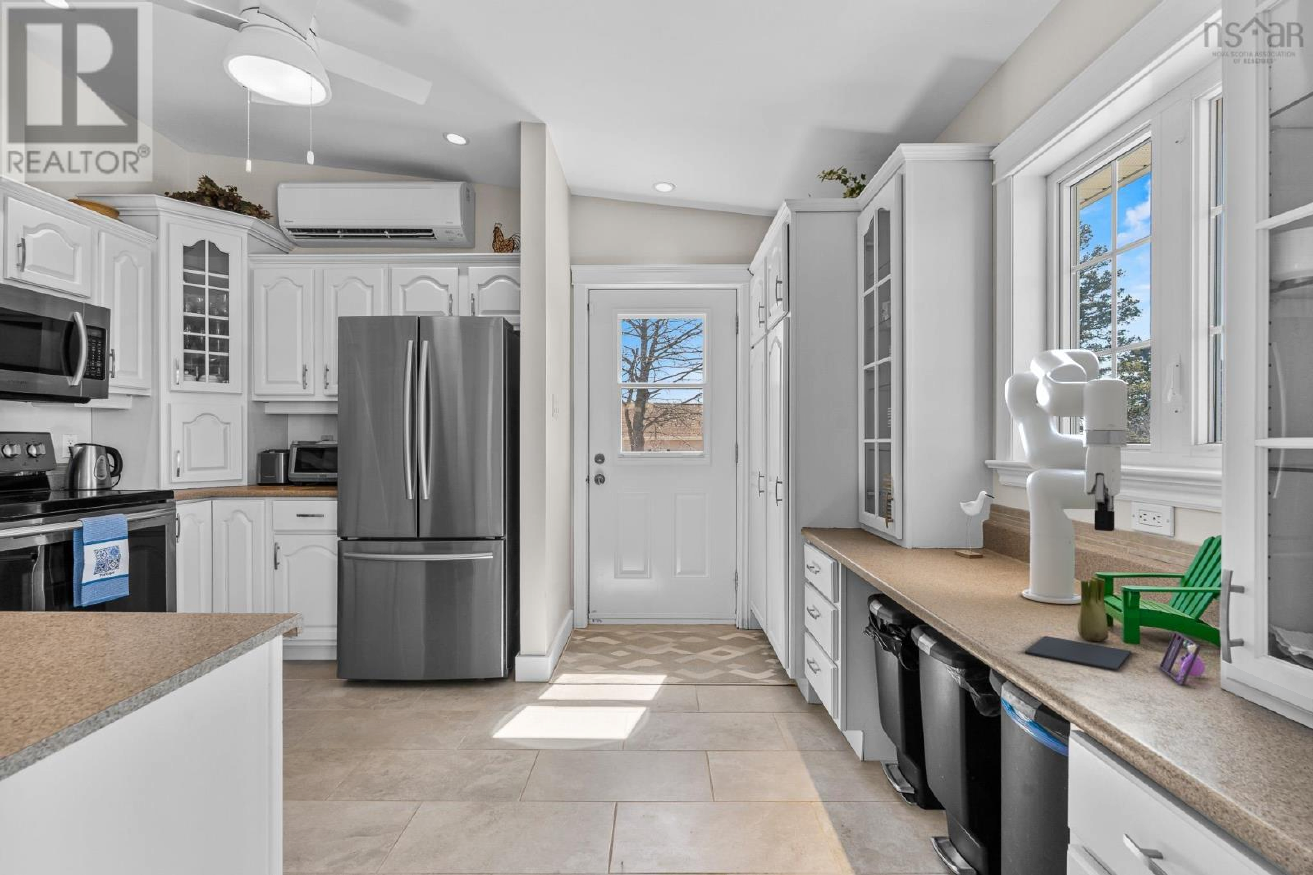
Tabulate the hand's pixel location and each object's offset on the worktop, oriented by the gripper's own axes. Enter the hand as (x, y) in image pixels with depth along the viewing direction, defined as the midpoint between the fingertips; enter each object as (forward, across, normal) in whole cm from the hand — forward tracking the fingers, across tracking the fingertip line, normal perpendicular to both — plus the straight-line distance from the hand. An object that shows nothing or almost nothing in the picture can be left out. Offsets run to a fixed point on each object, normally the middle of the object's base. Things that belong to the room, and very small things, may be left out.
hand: (1104, 530), depth 143 cm
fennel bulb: (+21, +10, 0) cm, 23 cm away
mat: (+21, +22, 0) cm, 30 cm away
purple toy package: (+21, +24, +16) cm, 36 cm away
